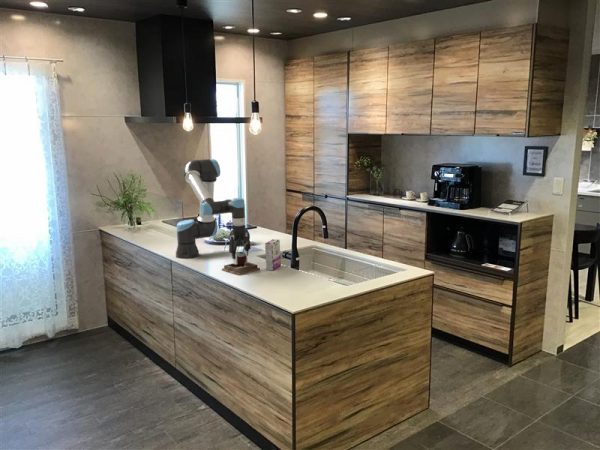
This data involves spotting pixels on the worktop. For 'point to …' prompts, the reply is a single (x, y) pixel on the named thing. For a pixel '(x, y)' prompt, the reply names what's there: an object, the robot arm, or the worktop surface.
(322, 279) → the worktop surface
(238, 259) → the mate gourd
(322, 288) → the worktop surface
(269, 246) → the candy bar box
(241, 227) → the robot arm
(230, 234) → the squash
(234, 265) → the holder board
